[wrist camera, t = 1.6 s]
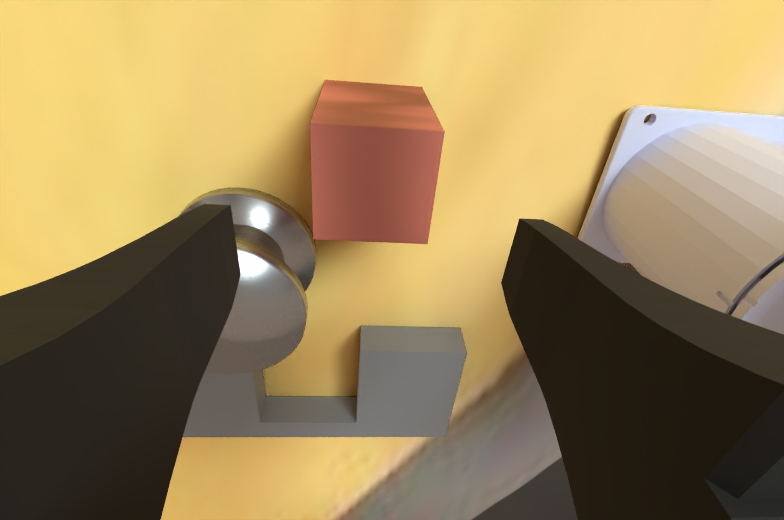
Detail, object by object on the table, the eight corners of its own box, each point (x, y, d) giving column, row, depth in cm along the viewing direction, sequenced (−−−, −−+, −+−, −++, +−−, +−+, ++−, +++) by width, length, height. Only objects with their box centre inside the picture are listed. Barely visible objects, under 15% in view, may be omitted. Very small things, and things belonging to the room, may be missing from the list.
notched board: (460, 328, 26) (466, 352, 24) (440, 411, 30) (445, 436, 28) (147, 320, 24) (131, 346, 22) (176, 410, 28) (164, 437, 27)
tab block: (421, 86, 18) (444, 131, 13) (411, 176, 20) (427, 244, 15) (325, 79, 17) (310, 122, 12) (325, 171, 20) (312, 239, 15)
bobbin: (315, 191, 20) (302, 248, 16) (317, 305, 24) (308, 374, 20) (160, 183, 19) (105, 241, 15) (188, 301, 23) (151, 372, 19)
